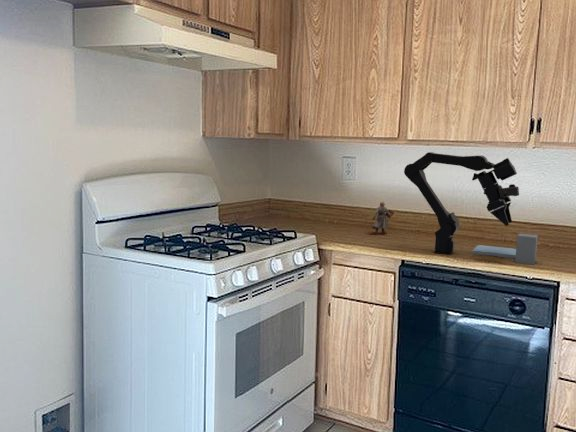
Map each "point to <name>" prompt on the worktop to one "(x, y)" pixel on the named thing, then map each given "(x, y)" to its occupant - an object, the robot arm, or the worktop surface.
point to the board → (495, 251)
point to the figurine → (381, 218)
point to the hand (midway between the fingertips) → (509, 223)
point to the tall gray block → (526, 248)
